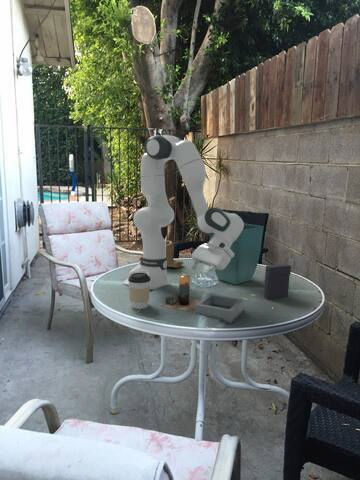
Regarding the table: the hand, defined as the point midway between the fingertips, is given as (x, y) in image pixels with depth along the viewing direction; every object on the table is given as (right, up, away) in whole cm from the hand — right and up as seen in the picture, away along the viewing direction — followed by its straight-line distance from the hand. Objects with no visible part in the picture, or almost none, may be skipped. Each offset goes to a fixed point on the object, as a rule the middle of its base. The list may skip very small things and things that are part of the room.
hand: (199, 271), depth 173 cm
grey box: (+35, -13, +12) cm, 39 cm away
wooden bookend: (-15, -2, +63) cm, 64 cm away
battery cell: (-6, -13, -1) cm, 15 cm away
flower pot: (+20, -7, +39) cm, 44 cm away
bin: (+8, -16, -8) cm, 20 cm away
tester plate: (-6, -15, -1) cm, 16 cm away
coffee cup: (-25, -15, -4) cm, 29 cm away
